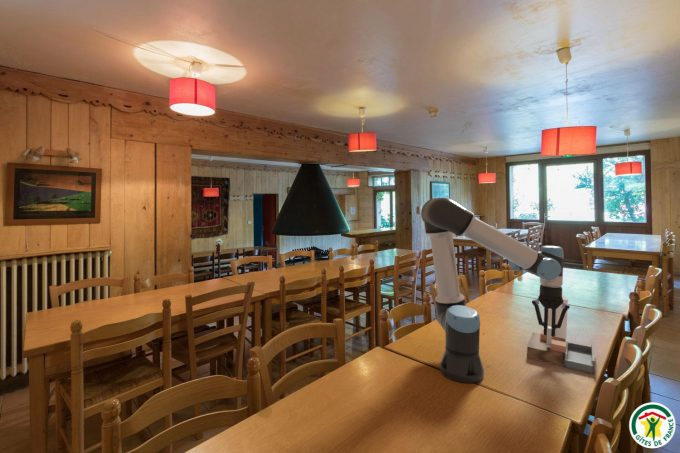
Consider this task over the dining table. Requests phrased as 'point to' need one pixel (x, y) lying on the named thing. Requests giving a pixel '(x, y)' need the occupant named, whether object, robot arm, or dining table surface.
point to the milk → (562, 330)
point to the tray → (579, 357)
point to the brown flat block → (544, 350)
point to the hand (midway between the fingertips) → (548, 343)
